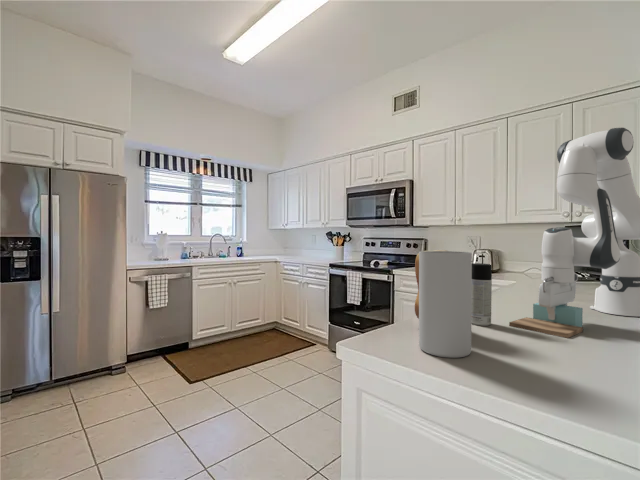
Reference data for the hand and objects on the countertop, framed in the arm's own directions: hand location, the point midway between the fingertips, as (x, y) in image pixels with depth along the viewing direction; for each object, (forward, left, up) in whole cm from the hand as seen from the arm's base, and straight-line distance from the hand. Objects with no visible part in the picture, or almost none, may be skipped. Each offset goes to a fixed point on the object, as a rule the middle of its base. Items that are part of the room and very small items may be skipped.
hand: (557, 317), depth 110 cm
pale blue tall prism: (0, 0, -2) cm, 2 cm away
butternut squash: (+38, -19, -2) cm, 43 cm away
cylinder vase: (+53, -6, -2) cm, 54 cm away
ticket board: (+9, 0, -2) cm, 10 cm away
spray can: (+20, -15, -2) cm, 25 cm away
